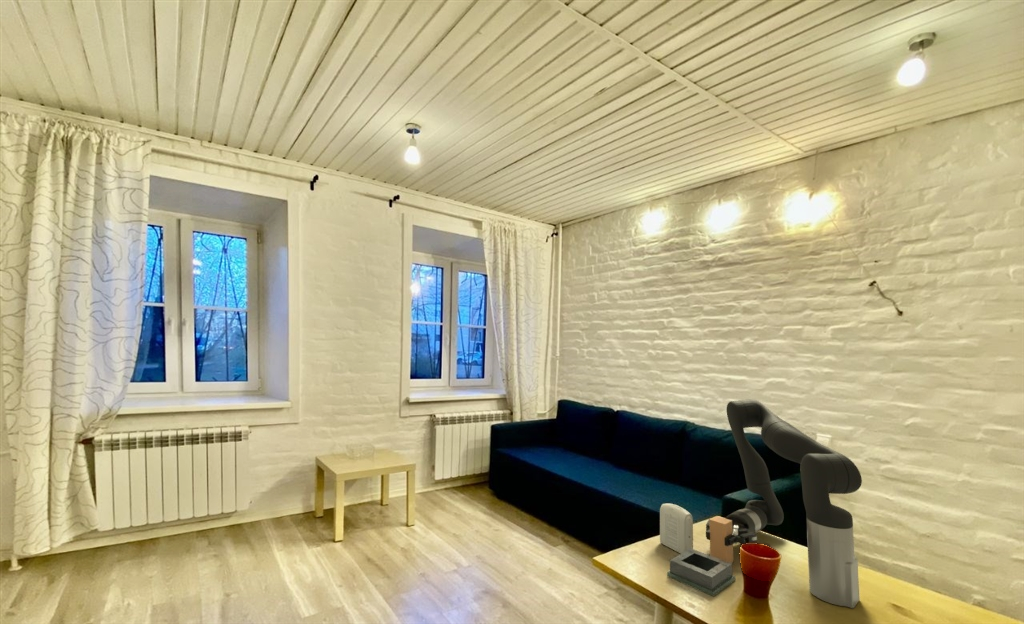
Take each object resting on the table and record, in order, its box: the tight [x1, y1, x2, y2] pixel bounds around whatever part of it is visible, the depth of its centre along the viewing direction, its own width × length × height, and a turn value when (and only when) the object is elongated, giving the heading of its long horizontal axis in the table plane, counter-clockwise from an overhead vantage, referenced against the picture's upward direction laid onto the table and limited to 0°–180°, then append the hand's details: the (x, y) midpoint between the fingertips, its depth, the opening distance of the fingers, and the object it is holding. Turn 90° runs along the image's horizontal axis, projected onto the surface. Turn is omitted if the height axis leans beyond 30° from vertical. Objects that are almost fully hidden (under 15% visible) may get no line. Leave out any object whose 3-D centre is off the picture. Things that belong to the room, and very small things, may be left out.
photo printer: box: [659, 502, 694, 554], centre depth 130 cm, size 10×4×12 cm, turn 28°
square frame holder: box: [666, 548, 736, 597], centre depth 112 cm, size 12×12×4 cm
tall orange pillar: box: [708, 515, 734, 564], centre depth 122 cm, size 4×4×11 cm
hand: (716, 539), depth 121 cm, fingers closed on tall orange pillar, 4 cm apart
